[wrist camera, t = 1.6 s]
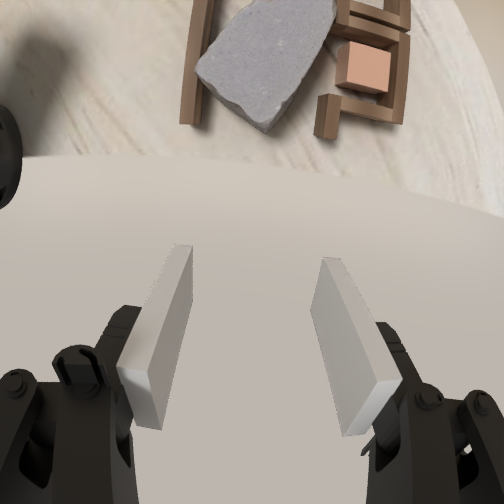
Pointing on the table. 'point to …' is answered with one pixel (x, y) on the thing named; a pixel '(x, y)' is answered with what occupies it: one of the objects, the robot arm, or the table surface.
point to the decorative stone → (265, 56)
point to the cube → (362, 68)
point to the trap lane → (345, 25)
